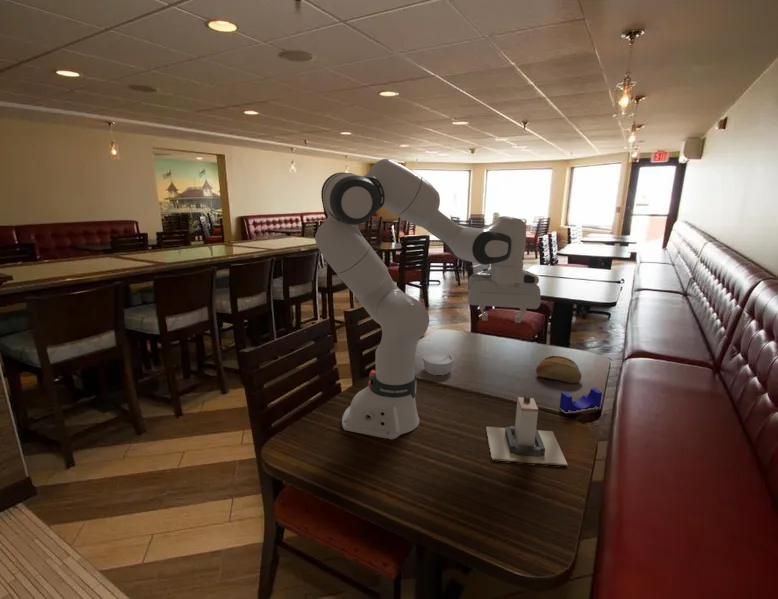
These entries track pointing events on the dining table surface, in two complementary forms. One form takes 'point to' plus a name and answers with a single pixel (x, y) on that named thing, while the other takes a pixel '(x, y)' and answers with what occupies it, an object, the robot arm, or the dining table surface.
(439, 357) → the ramekin
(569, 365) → the bread roll
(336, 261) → the robot arm
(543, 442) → the board
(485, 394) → the dining table surface
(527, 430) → the white and orange block
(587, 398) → the cable clip
